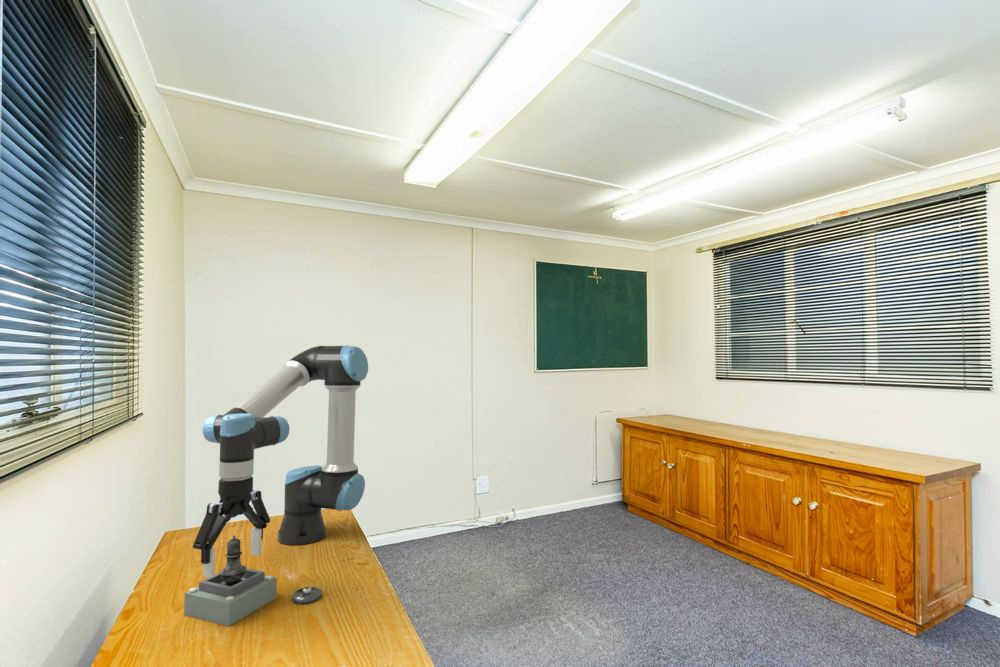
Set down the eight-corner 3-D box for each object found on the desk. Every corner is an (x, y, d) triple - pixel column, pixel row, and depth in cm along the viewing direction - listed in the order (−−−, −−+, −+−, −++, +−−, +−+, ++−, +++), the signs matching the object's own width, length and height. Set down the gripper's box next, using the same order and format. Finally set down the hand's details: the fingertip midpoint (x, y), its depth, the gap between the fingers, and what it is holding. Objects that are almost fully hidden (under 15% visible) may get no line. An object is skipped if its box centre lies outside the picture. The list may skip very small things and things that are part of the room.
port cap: (305, 589, 129) (305, 580, 129) (327, 593, 127) (327, 585, 127) (285, 601, 123) (285, 592, 123) (308, 606, 120) (308, 597, 120)
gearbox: (227, 587, 130) (228, 560, 130) (276, 598, 124) (277, 569, 125) (176, 612, 117) (177, 582, 117) (228, 626, 111) (229, 594, 111)
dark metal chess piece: (234, 591, 117) (235, 540, 117) (213, 589, 118) (214, 538, 119) (251, 580, 123) (252, 531, 123) (230, 578, 124) (232, 530, 124)
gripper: (264, 465, 135) (261, 544, 134) (177, 488, 111) (173, 584, 110) (286, 467, 132) (283, 548, 131) (201, 491, 109) (197, 589, 108)
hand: (233, 565), depth 121 cm, fingers open, 13 cm apart
